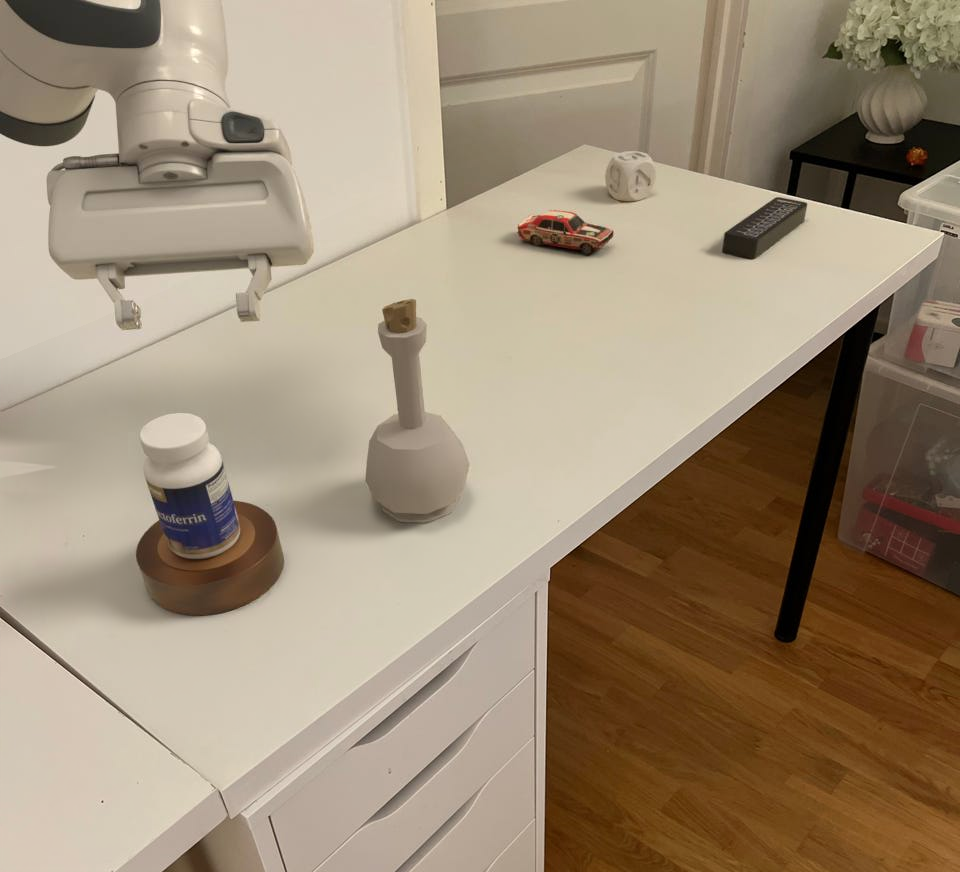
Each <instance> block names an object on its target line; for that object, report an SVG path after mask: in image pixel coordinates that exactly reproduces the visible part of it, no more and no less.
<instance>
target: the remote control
mask: <svg viewBox="0 0 960 872" xmlns="http://www.w3.org/2000/svg"><path fill="white" fill-rule="evenodd" d="M807 208H808V203H807V202H806V201H801V200H797V199H796V200H795V199H791V198H786V197H781V196H777V197H774V198H773V199H771V200H770V201H768V202H766V203H765V204H764V205H762V206H761V207H760V208H758V209H757V210H755V211H754V212H753V213H751V214H749V215H748V216H747V217H745V218H743V219H742V220H741V221H739V222H738V223H737V224H735V225H734V226H732V227H731V228H729V229H728V230H727V231H725V232H723V240H722V248H721V252H722V253H723V254H728V255H731V256H736V257H740V258H744V259H749V260H756V259H757V258H758V257H760V256H761V255H762V254H763V253H765V252H766V251H767V250H769V249H770V248H772V247H773V246H774V245H775V244H777V243H778V242H780V241H781V240H782V239H783V238H784V237H786V236H787V235H789V234H790V233H792V232H793V231H795V229H797V228H798V227H799V226H801V225H802V224H803V223H805V219H806V214H807Z"/></svg>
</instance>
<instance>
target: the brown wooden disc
mask: <svg viewBox="0 0 960 872" xmlns="http://www.w3.org/2000/svg"><path fill="white" fill-rule="evenodd" d="M233 501H234V505H235V509H236V512H237V516H238V520H239V524H240V534H239V537H238V539H237V541H236V542H235V544H234V545H233V546H232V547H231V548H229V549H228V550H226V551H225V552H223V553H221V554H219V555H216V556H213V557H209V558H204V559H188V558H184V557H181V556H178V555H177V554H175V553H174V552H173V551H172V550H171V549H170V548H169V546H168V544H167V541H166V538H165V536H164V533H163V529H162V526H161V523H160V520H159V519H158V520H157V521H156V522H154V523H153V524H151V526H150V527H149V528H148V529H147V530H146V531H145V532H144V533H143V535H142V536H141V537H140V539H139V541H138V544H137V546H136V549H135V559H136V563H137V566H138V569H139V571H140V574H141V576H142V579H143V582H144V584H145V587H146V589H147V592H148V595H149V596H150V597H151V600H153V601H154V602H155V604H157V605H159V606H160V607H161V608H163V609H165V610H167V611H170V612H173V613H175V614H181V615H187V616H188V615H189V616H209V615H211V616H212V615H216V614H222V613H227V612H230V611H233V610H236V609H238V608H241V607H243V606H246V605H248V604H250V603H252V602H254V601H255V600H257V599H258V598H260V597H262V596H263V595H264V594H265V593H267V592H268V591H269V590H270V589H271V588H272V587H273V586H274V585H275V583H276V582H277V581H278V580H279V578H280V576H281V574H282V572H283V569H284V562H285V558H284V553H283V549H282V544H281V539H280V536H279V531H278V527H277V524H276V521H275V520H274V518H273V517H272V516H271V515H270V513H268V512H267V511H266V510H265V509H263V508H261V507H259V506H257V505H256V504H252V503H249V502H245V501H240V500H233Z"/></svg>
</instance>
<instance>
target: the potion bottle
mask: <svg viewBox="0 0 960 872" xmlns="http://www.w3.org/2000/svg"><path fill="white" fill-rule="evenodd" d="M381 311H382V316H383V320H382V321H381V322H380V323H378V325H377V334H378V338H379V341H380V344H381V348H382V349H383V350H384V352H386V354H388V355H389V357H390V358H391V365H392V373H393V380H394V388H395V389H394V391H395V397H396V406H397V413H394V414H393V415H391V416H389V417H388V418H386V419H385V420H384V421H382V422H380V423H379V424H378V425H377V426H376V427H375V429H374V431H373V433H372V435H371V437H370V439H369V441H368V448H367V456H366V464H365V465H366V466H365V467H366V468H365V477H364V478H365V479H364V481H365V484H366V486H367V488H368V490H369V492H370V493H371V496H372V499H373V500H374V501H375V502H377V503H379V504H380V505H381V511H382V512H383V513H385V514H386V515H388V516H390V517H391V518H393V519H394V520H396V521H397V522H400V523H415V524H416V523H421V524H428V523H431V522H433V521H436V520H437V519H440V518H444V517H445V516H447V515H450V514H452V512H453V511H454V509H455V507H456V506H457V503H458V502H459V500H460V498H461V493H462V491H463V490H464V488H465V486H466V483H467V477H468V473H469V469H470V460H469V458H468V456H467V455H468V454H467V452H466V450H465V446H464V444H463V442H462V441H461V440H460V438H459V437H458V436H457V435H456V432H454V431H453V430H452V428H451V426H450V425H449V424H448V423H447V422H446V420H445V419H444V417H443V416H442V415H439V414H436V413H431V412H427V411H426V409H425V402H424V389H423V379H422V371H421V370H422V369H421V359H420V353H421V351H422V349H423V348H424V346H425V344H426V343H427V330H428V329H427V327H428V325H427V323H426V322H425V321H424V320H423V318H422V317H418V316H417V300H416V299H414V298H410V299H403V300H400V301H396V302H393V303H390V304H388V305H386V306H384V307H383V308H382V309H381Z"/></svg>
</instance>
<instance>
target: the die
mask: <svg viewBox="0 0 960 872" xmlns="http://www.w3.org/2000/svg"><path fill="white" fill-rule="evenodd" d="M604 177H605V179H604V180H605V187H606V189H607V190H608V193H609V195H610V196H611V197H612V198H613V199H614V200H617V201H621V202H639V201H642V200H644V199H645V198H647V197H648V195H649V194H650V193H651V192H652V190H653V188H654V186H655V183H656V179H657V172H656V166H655V163H654V160H653V159H652V157H651V156H650V155H649V154H648V153H646V152H644V151H637V150H627V151H622V152H618V153H616V154H615V155H613V157H612V158H611V159H610V161H609V163H607V166H606V170H605V175H604Z"/></svg>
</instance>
